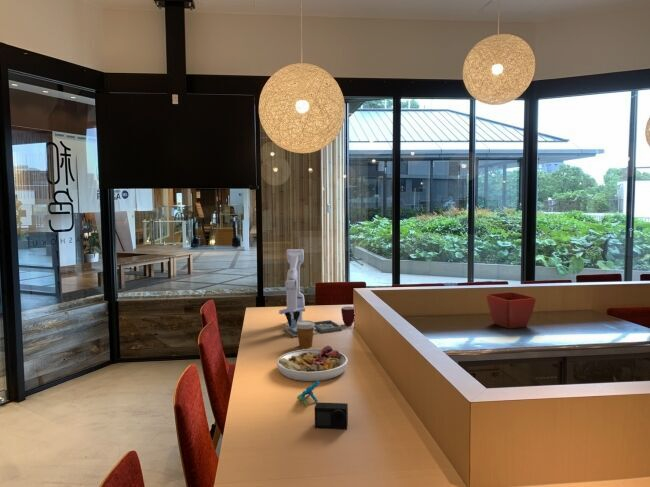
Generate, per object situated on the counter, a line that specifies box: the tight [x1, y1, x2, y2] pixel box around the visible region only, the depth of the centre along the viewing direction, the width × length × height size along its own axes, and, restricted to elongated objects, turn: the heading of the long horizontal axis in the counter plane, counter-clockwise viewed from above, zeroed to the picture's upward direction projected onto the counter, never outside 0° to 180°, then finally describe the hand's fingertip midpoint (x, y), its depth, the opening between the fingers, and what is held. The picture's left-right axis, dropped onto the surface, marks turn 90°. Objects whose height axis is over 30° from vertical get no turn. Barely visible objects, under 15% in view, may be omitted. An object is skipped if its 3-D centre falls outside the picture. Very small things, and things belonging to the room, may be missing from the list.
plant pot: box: [486, 291, 537, 329], centre depth 270 cm, size 19×19×17 cm
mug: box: [340, 306, 355, 327], centre depth 276 cm, size 10×8×10 cm
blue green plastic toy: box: [296, 381, 321, 407], centre depth 173 cm, size 11×6×10 cm
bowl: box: [276, 345, 348, 382], centre depth 205 cm, size 30×30×8 cm
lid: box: [284, 319, 316, 332], centre depth 265 cm, size 16×12×5 cm
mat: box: [284, 327, 318, 338], centre depth 265 cm, size 16×13×1 cm
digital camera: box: [314, 401, 349, 430], centre depth 154 cm, size 10×5×7 cm, turn 83°
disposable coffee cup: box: [296, 320, 315, 349], centre depth 238 cm, size 10×10×12 cm
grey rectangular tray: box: [313, 319, 343, 334], centre depth 271 cm, size 16×12×2 cm
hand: (292, 325), depth 263 cm, fingers closed on lid, 2 cm apart
